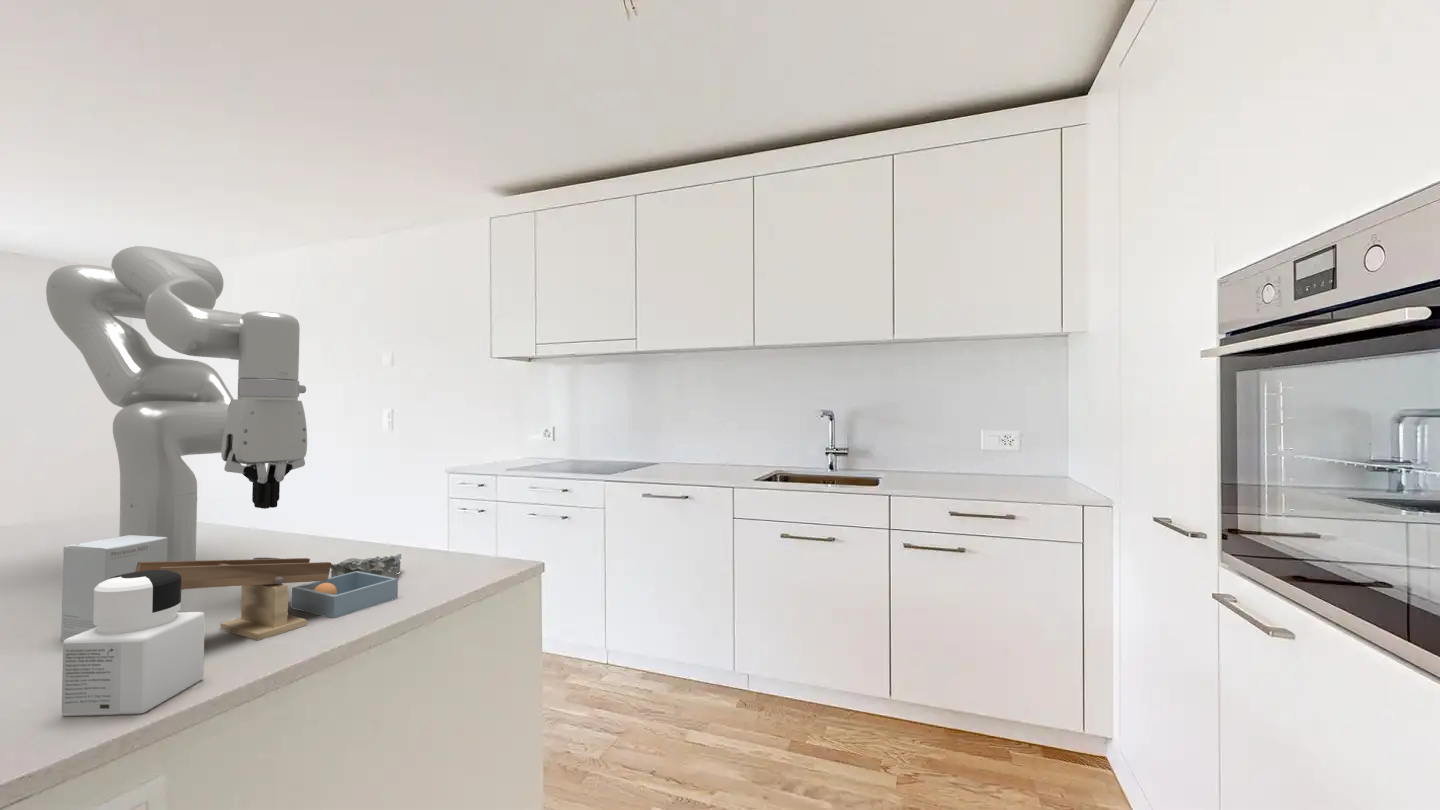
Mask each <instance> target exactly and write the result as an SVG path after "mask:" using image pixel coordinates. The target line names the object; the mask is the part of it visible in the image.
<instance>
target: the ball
mask: <svg viewBox="0 0 1440 810" xmlns="http://www.w3.org/2000/svg"><path fill="white" fill-rule="evenodd" d="M314 590H315V591H319V592H324V593H328V594H333V595H337V589H336V587H335V586H334V585H333V584H331V583H322V584H320V585H318V586H317V587H316V588H315V589H314Z"/></svg>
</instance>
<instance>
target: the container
mask: <svg viewBox="0 0 1440 810" xmlns="http://www.w3.org/2000/svg"><path fill="white" fill-rule="evenodd" d="M181 602H182V589H181V575H180V574H178V573H177V572H173V571H168V570H147V571H139V572H132V573H127V574H122V575H118V576H115V577H112V578H109V579H107V580H105V581H103V582H101V583H99V584H98V585H97V586H96V587H95V588H94V618H93V624H94V625H96V626H98V627H96V628H93V629H90V630H88V631H85V632H83V633H80V634H77V635H75V636H72V637H69V638H67V639H65V640H64V641H62V671H61V672H62V675H61V676H62V677H61V678H62V681H61V683H62V684H61V715H62V716H64V717H74V716H75V717H77V716H78V717H79V716H109V715H110V716H111V715H138V714H140V715H141V714H145V713H146V712H149V710H152V709H154V708H155V707H157V706H159V705H160V704H162V703H164V702H165V701H167V700H169V699H171V698H172V697H174V696H176V695H178V694H180V693H181V692H183V691H185V690H187V689H188V688H190V687H191V686H193V685H195V684H197V683H199V682H200V681H202V680H203V678H204V665H205V664H204V663H205V616H206V615H205V613H204V612H203V611H190V612H189V611H187V612H185V611H184V612H183V611H182V612H179V611H180V610H181V609H182V608H181V607H182V603H181Z"/></svg>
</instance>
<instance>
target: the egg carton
mask: <svg viewBox="0 0 1440 810" xmlns="http://www.w3.org/2000/svg"><path fill="white" fill-rule="evenodd" d="M401 560H402V553H399V554H395V555H390V556H389V557H388V556H383V557H381V556H376V557H373V558H372V557H367V558H361V559H360V558H354V557H352V558H351V557H349V558H346V559H345V560H344V559H343V561H341V562H339V563H338V562H337V563H334V564H333V563H331V567H330V578H331V577H335V576H339V575H343V574H347V573H351V572H355V571H360V572H365V573H371V574H376V575H381V576H387V577H392V578H397V579H398V575H397V573H399V572H400V573H401V563H402V562H401Z"/></svg>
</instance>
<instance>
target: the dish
mask: <svg viewBox="0 0 1440 810" xmlns="http://www.w3.org/2000/svg"><path fill="white" fill-rule="evenodd" d="M322 583H331V584H333V585H334V586H335V587H336V589H337V595H333V594H328V593H324V592H319V591H315V590H314V589H315V588H316V587H317V586H318V585H320V584H322ZM398 591H399V578H398V577H397V578H392V577H387V576H381V575H376V574H371V573H365V572H360V571H355V572H351V573H347V574H343V575H339V576H335V577H331V576H330V577H328V581H315V582H307V583H304V584H301V585H297V586H293V587H291V608H292V609H294V608H295V610H298V609H299V611H302V612H307V613H310V614H314V615H318V616H322V617H327V618H330V619H336V618H339V617H343V616H346V615H348V614H353V613H356V612H358V611H361V610H365V609H367V608H370V607H374V606H377V605H380V604H384V603H386V602H390V601H393V600H396V599H398V598H399V593H398ZM395 598H396V599H395ZM392 599H393V600H392Z"/></svg>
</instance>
